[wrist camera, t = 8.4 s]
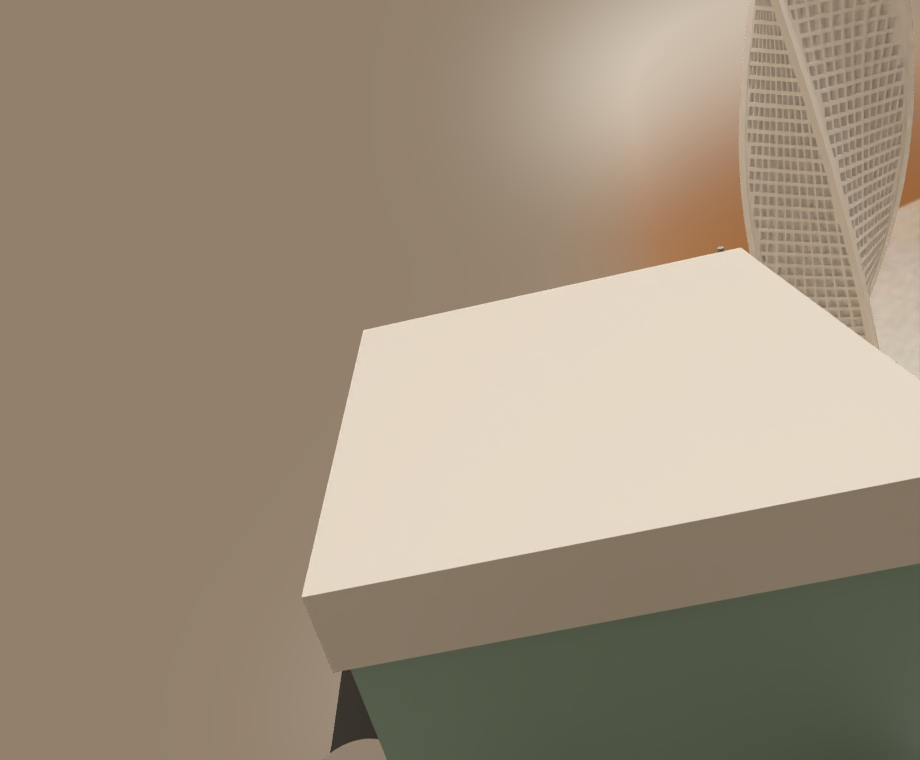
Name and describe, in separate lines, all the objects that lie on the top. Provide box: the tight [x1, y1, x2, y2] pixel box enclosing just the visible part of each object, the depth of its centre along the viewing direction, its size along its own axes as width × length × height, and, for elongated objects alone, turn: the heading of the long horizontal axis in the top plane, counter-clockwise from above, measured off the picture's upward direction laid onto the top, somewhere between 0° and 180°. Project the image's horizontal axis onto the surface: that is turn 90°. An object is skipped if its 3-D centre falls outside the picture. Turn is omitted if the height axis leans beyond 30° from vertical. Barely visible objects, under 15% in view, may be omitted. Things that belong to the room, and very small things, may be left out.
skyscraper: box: [717, 0, 914, 350], centre depth 37 cm, size 8×8×28 cm
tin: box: [302, 248, 920, 760], centre depth 10 cm, size 5×5×11 cm
